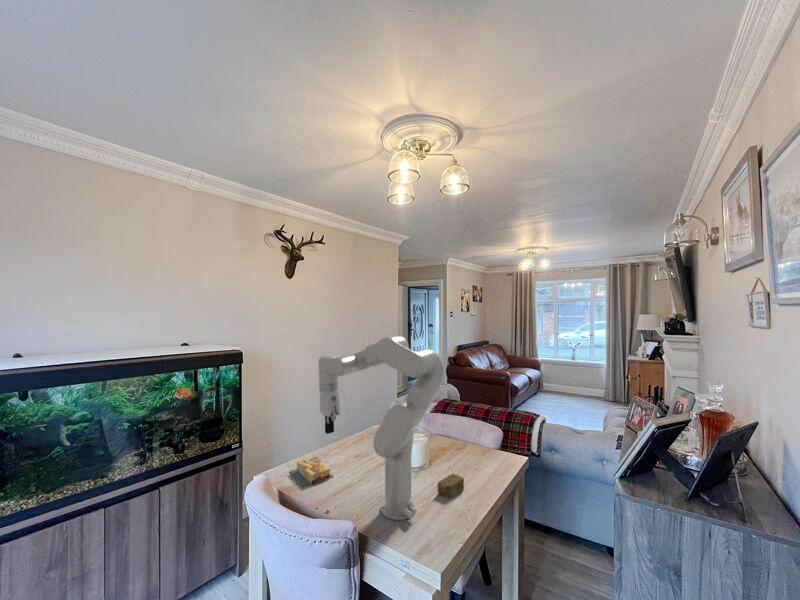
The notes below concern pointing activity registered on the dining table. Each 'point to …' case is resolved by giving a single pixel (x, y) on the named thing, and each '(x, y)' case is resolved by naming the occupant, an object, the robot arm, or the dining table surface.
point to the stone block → (450, 485)
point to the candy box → (313, 470)
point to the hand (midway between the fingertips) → (329, 432)
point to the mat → (301, 479)
